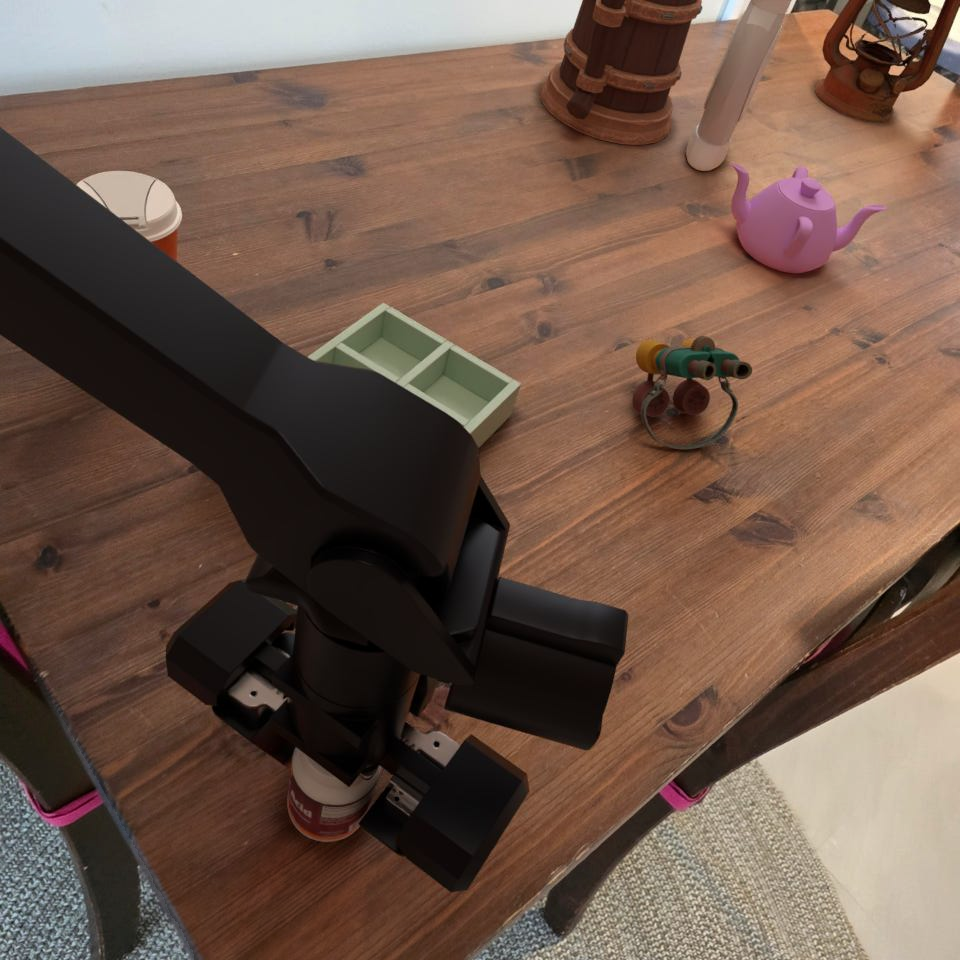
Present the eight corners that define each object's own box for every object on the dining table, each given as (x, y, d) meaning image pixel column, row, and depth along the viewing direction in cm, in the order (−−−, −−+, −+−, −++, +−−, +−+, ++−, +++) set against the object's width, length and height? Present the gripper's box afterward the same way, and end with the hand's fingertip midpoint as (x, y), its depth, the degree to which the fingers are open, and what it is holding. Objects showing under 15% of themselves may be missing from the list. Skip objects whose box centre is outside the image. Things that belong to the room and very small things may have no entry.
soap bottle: (731, 190, 112) (825, -13, 94) (674, 167, 113) (757, -39, 95) (749, 150, 121) (838, -43, 103) (696, 129, 122) (776, -66, 104)
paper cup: (196, 373, 72) (190, 225, 62) (94, 384, 69) (69, 229, 59) (179, 312, 76) (171, 164, 66) (82, 319, 73) (58, 165, 63)
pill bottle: (278, 775, 52) (284, 710, 46) (356, 755, 54) (373, 689, 48) (296, 855, 49) (306, 797, 43) (378, 831, 51) (399, 771, 45)
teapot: (848, 271, 105) (889, 206, 98) (765, 288, 99) (803, 220, 92) (783, 214, 111) (818, 149, 104) (701, 227, 105) (732, 158, 98)
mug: (501, 113, 113) (541, -58, 98) (573, 63, 128) (617, -93, 113) (630, 173, 110) (691, 5, 95) (688, 114, 125) (749, -39, 110)
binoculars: (705, 434, 83) (717, 327, 80) (765, 460, 75) (780, 342, 72) (616, 439, 80) (625, 328, 78) (668, 466, 72) (680, 343, 69)
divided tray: (207, 463, 66) (206, 428, 63) (377, 335, 80) (383, 301, 77) (360, 568, 63) (366, 535, 60) (511, 415, 76) (521, 383, 74)
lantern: (799, 97, 137) (907, -126, 115) (806, 69, 146) (909, -144, 124) (904, 136, 136) (1034, -82, 114) (905, 105, 144) (1026, -103, 122)
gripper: (622, 643, 42) (538, 777, 53) (312, 442, 46) (296, 606, 57) (501, 836, 35) (434, 943, 46) (148, 576, 39) (167, 733, 50)
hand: (330, 789), depth 50 cm, fingers open, 5 cm apart
